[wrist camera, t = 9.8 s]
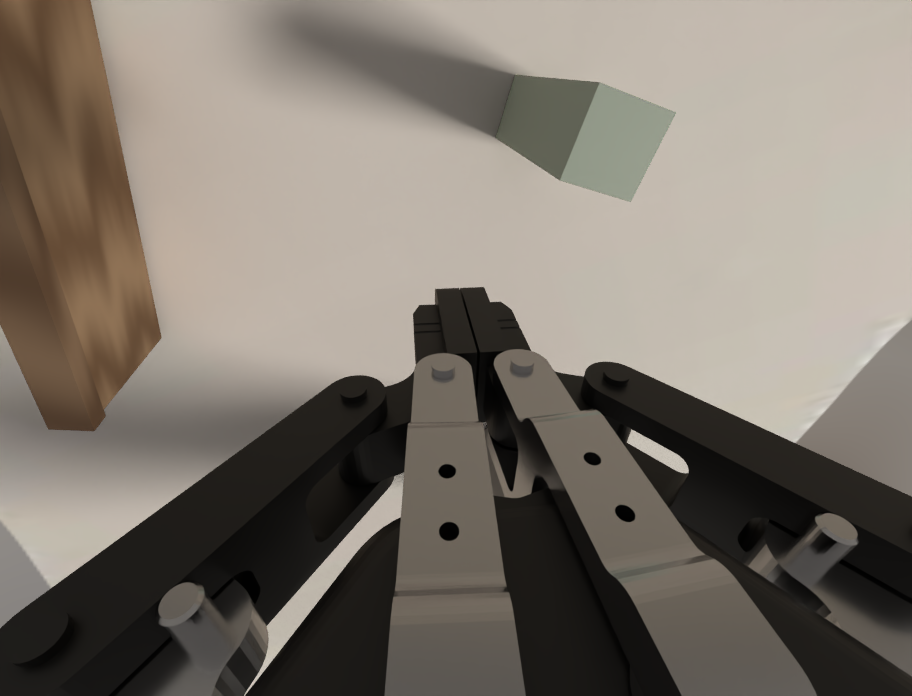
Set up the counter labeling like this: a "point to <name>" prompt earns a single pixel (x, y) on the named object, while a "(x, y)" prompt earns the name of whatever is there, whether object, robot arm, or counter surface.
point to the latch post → (584, 132)
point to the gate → (67, 218)
